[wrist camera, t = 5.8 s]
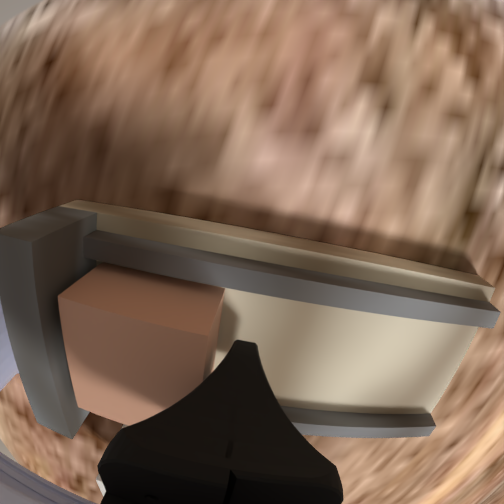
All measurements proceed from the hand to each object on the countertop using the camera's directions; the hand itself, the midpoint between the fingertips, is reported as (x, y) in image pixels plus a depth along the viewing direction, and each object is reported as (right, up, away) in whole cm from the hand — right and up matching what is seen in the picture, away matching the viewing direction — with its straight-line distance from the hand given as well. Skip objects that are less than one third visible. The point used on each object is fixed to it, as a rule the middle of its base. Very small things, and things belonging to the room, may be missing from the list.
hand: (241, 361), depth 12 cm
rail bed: (+1, +1, +2) cm, 3 cm away
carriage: (-3, +1, +1) cm, 4 cm away
